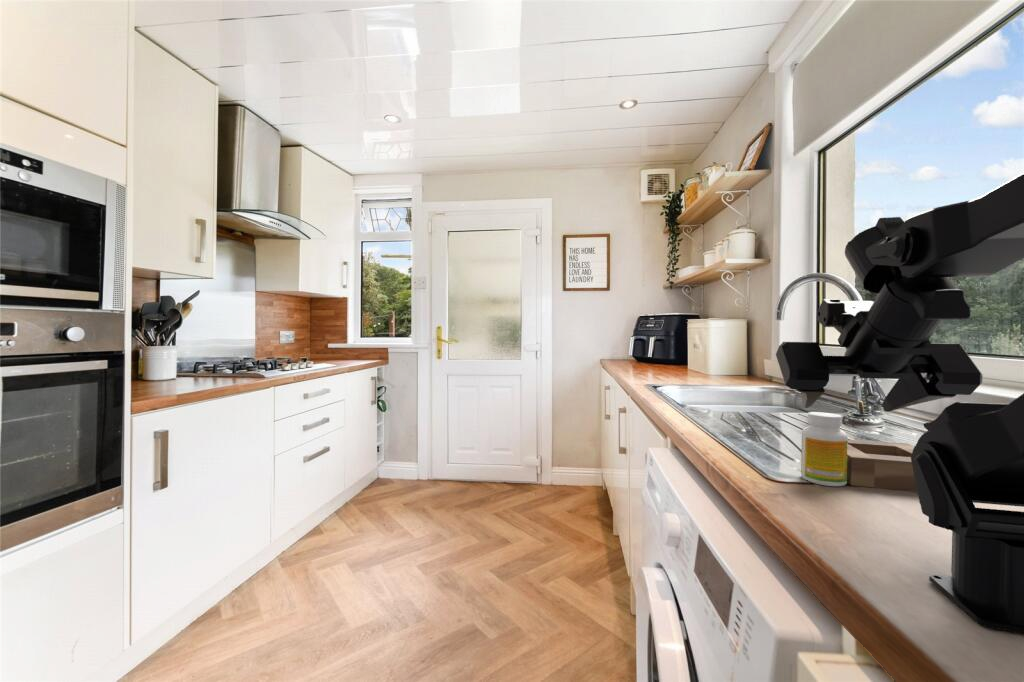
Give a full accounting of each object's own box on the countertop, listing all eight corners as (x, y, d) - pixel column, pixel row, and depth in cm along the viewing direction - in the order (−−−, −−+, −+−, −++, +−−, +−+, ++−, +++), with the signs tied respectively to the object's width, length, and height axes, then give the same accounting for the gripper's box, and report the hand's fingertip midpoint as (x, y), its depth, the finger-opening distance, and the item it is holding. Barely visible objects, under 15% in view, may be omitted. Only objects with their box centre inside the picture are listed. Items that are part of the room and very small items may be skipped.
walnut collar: (958, 495, 57) (959, 465, 57) (851, 485, 60) (851, 457, 60) (906, 468, 68) (907, 443, 68) (818, 461, 72) (819, 437, 72)
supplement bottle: (855, 488, 59) (856, 418, 59) (811, 485, 60) (813, 416, 60) (834, 476, 64) (835, 411, 64) (794, 473, 65) (795, 410, 65)
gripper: (965, 273, 49) (900, 362, 60) (782, 277, 53) (753, 359, 64) (1027, 344, 42) (940, 431, 53) (808, 341, 46) (771, 422, 57)
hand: (843, 406), depth 57 cm, fingers open, 9 cm apart
